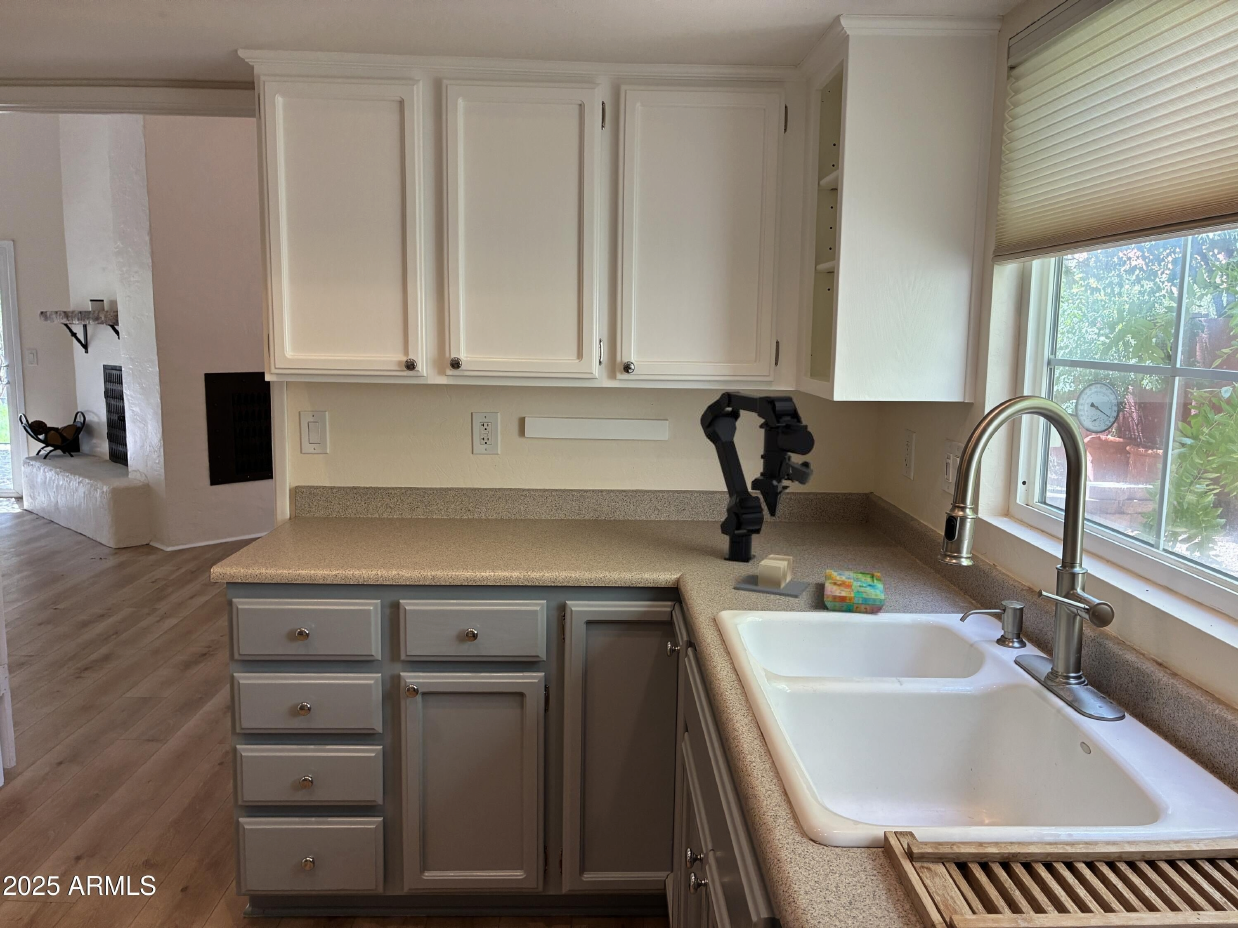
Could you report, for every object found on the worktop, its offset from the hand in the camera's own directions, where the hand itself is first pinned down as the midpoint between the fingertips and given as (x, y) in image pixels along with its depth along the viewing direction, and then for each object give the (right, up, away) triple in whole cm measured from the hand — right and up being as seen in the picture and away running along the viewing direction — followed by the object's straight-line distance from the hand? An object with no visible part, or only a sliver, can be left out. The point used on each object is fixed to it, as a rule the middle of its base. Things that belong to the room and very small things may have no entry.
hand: (773, 516), depth 215 cm
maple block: (+1, -11, -6) cm, 13 cm away
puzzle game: (+13, -17, -20) cm, 30 cm away
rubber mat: (-2, -15, -12) cm, 19 cm away
